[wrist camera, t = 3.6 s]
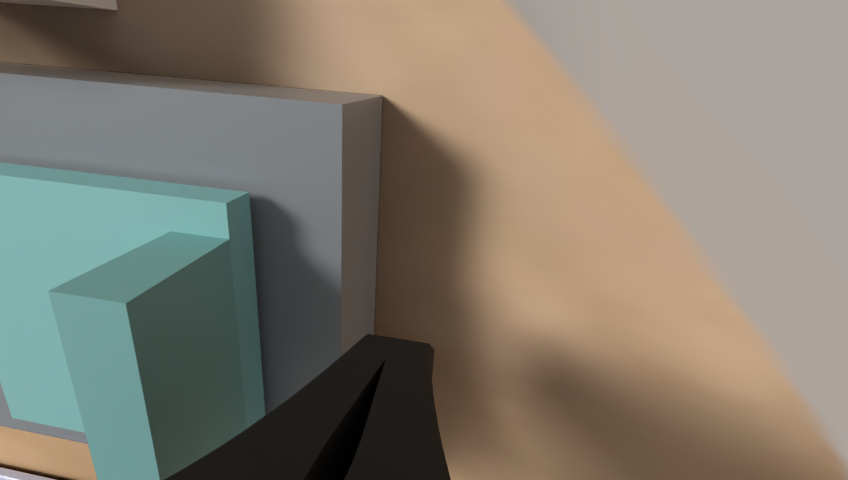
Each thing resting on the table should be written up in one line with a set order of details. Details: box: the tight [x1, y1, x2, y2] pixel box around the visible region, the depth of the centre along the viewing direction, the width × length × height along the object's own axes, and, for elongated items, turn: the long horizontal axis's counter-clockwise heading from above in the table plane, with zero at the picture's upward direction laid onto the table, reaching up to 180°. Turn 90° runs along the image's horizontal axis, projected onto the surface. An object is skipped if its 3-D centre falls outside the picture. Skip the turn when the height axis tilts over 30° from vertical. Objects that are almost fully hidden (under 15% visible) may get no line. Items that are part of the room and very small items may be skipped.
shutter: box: [0, 162, 265, 480], centre depth 9 cm, size 6×6×3 cm
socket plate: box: [0, 62, 383, 444], centre depth 13 cm, size 10×16×3 cm, turn 86°
